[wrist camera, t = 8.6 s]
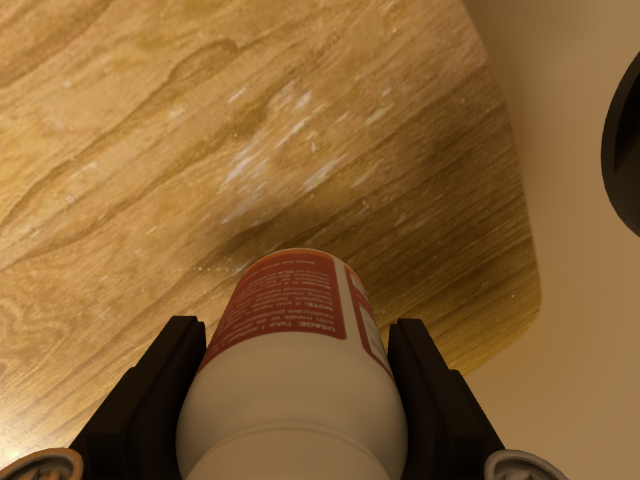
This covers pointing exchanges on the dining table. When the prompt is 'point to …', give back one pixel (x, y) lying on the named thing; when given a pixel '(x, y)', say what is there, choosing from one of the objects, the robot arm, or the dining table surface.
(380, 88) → the dining table surface
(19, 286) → the dining table surface
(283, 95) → the dining table surface
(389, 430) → the pill bottle
